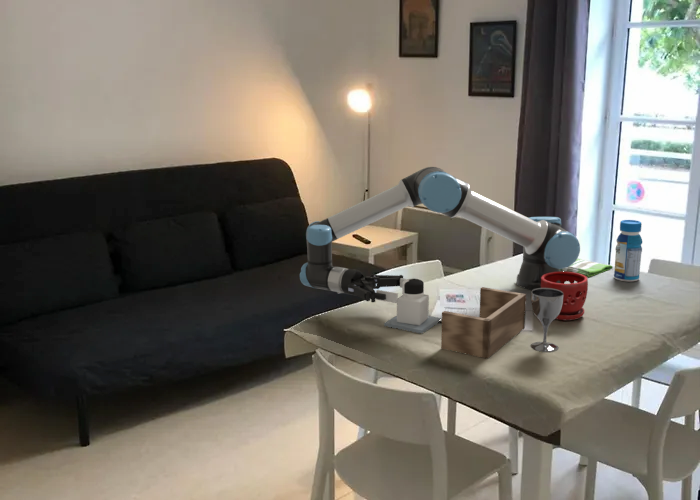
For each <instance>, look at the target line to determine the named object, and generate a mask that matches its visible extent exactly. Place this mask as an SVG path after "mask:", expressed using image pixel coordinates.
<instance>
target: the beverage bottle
mask: <svg viewBox="0 0 700 500" xmlns="http://www.w3.org/2000/svg"><path fill="white" fill-rule="evenodd" d="M641 231H642V222H641V221H640V220H636V219H622V220H621V221H620V223H619V232H620V233H619V235H618V236H617V238H616V243H617V244H616V246H615V259H614V260H615V261H614V269H613V270H614V274H613V277H614V279H615V280H617V281H621V282H632V283H633V282H637V281H638V280H639V279H640V271H641V262H642V252H643V247H642V244H643V239H642V237H641V234H640V233H641Z"/></svg>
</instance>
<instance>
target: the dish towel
mask: <svg viewBox="0 0 700 500" xmlns="http://www.w3.org/2000/svg"><path fill="white" fill-rule="evenodd" d="M611 269H613V266H612V265H611V264H604V263H600V262H596V261H595V262H594V261H589V260H585V259H581V258H577V260H576V261H575V262H574V263H573V264H572V265H571V266H569V267H566V268H563V269H560V270H561V271H564V272H574V273H579V274H582V275H584V276H586V277H587V278H590V277H593V276H596V275H599V274H601V273H603V272H607V271H610V270H611Z"/></svg>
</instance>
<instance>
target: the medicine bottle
mask: <svg viewBox="0 0 700 500" xmlns="http://www.w3.org/2000/svg"><path fill="white" fill-rule="evenodd" d="M406 279H407V280H404V281H403V282H402V288H401V293H402V294H401V295H400V296H399V297H398V303H396V316H397V322H399V323H406V324H412V325H421V324H422V323H423V322H424V321H425V320H427V319H428V316H430V314H429V312H430V311H429V308H430V307H429V305H430V301H429V300H430V296H429V294H425V293H424V291H425V290H424V289H425V288H424V287H425V285H424V284H425V283H424V281H423V280H421V279H418V278H406Z"/></svg>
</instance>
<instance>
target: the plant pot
mask: <svg viewBox="0 0 700 500" xmlns="http://www.w3.org/2000/svg"><path fill="white" fill-rule="evenodd" d="M588 280H589V279H588V277H586V276H584V275H582V274H579V273H574V272H563V271H561V272H551V273H547V274H544V275H543V276H542V277H541V288H553V289H557V290H560V291H562V292H563V304H562V308H561V311H560V314H559V315H558V316H557V317H556V318H555V319H554V320H559V321H573V320H577V319H580V318H582V316H583V315H584V314H585V311H586V310H585V309H584V308H583V307H584V305H585V303H586V299H587V295H588V289H589V288H588V287H589V281H588ZM557 281H560V283H556V282H557ZM566 282H569V283H566Z"/></svg>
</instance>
